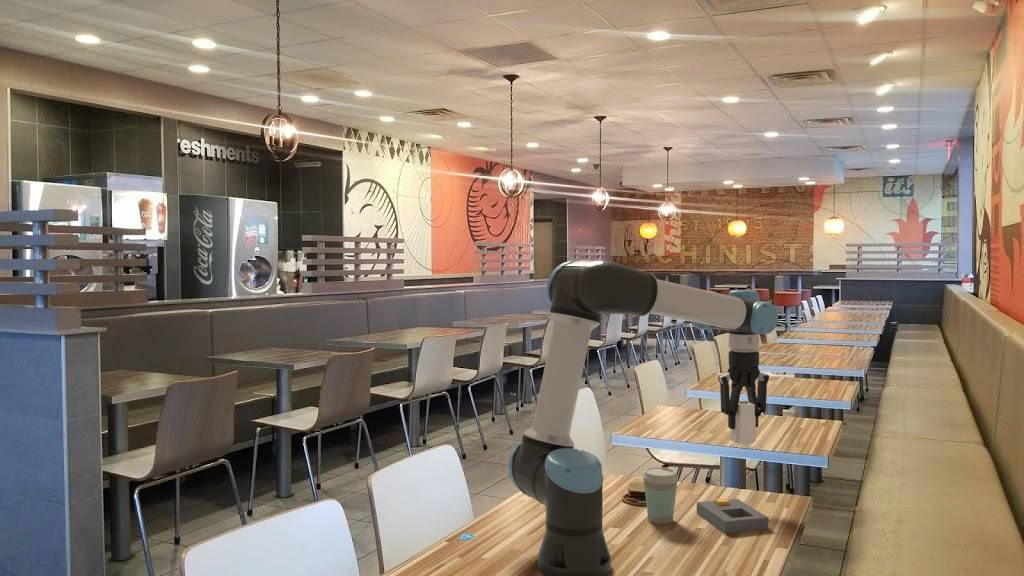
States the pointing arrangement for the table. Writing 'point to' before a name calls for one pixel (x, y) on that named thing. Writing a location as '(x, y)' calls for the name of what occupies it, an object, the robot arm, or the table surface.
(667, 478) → the coffee cup
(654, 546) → the table surface
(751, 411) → the block
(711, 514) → the grey charger dock
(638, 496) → the toy sandwich meal
